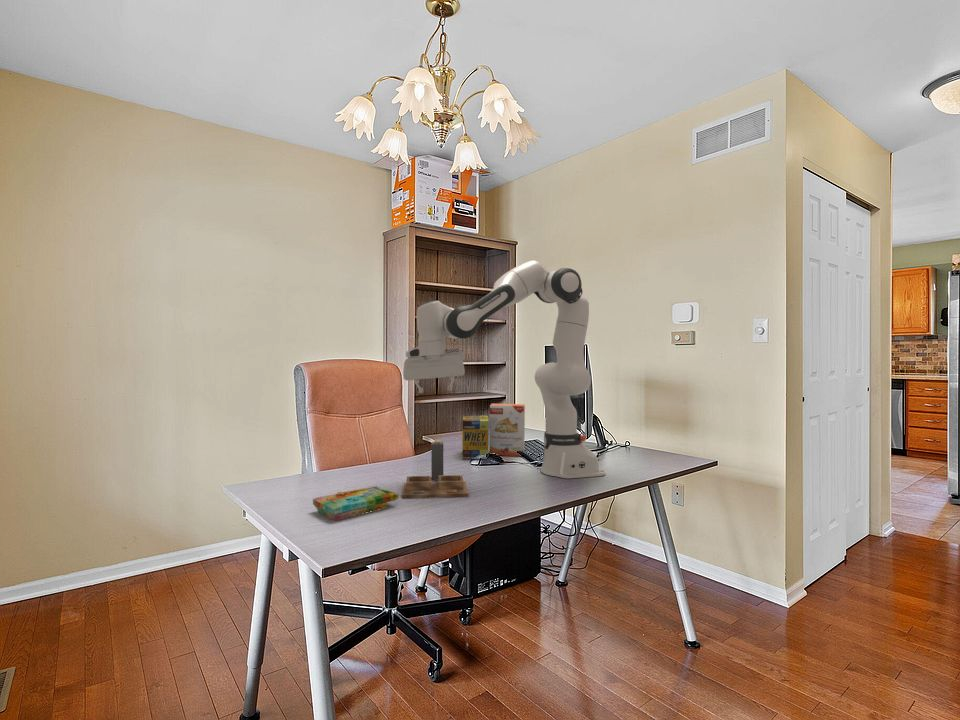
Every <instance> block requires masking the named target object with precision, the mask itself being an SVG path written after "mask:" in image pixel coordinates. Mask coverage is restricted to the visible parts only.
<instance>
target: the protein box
mask: <svg viewBox="0 0 960 720" xmlns="http://www.w3.org/2000/svg"><path fill="white" fill-rule="evenodd" d="M461 432H462V433H461V435H462V439H461V440H462V441H461V442H462V448H461V449H462V454H461V456H462V458H461V459H462V460H465V459H472V458H474V457H476V456H478V455H482V454H488V455H489V440H490V420H489V416H488V415H472V414H471V415H463V416H462V431H461Z"/></svg>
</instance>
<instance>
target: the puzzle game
mask: <svg viewBox="0 0 960 720" xmlns="http://www.w3.org/2000/svg"><path fill="white" fill-rule="evenodd" d="M398 499H399V494H398V493H396V492H393V491H390V490H388V489H385V488H382V487H380V486H377V485H373V486H369V487H364V488H359V489H352V490H348V491H343V492H342V491H337V493H335V494H327V495H324V496H319V497H315V498H313V499H312V505H313V506H314V507H315V508H316V510H317V512H318V513H319V512H320V513H319V514H321V513H322V515H323V514H324V515H323V516H325V515H326V516H325V517H327V516H328V517H327V518H329V517H330V518H329V519H331V518H332V519H331V520H333V519H334V520H333V521H335V520H336V521H339V520H338V519H340V520H343V519H342V518H344V519H347V518H346V517H348V518H351V517H350V516H352V517H354V516H353V515H356V516H359V515H358V514H360V515H363V514H362V513H364V514H367V513H366V512H368V513H371V512H370V511H372V512H376V511H379V510H378V509H380V510H384V509H385V508H386V507H387V506H388V503H390V502H394V501H395V502H396V501H397V500H398ZM383 508H384V509H383ZM375 510H376V511H375Z"/></svg>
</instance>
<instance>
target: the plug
mask: <svg viewBox="0 0 960 720" xmlns="http://www.w3.org/2000/svg"><path fill="white" fill-rule="evenodd" d="M430 446H431V458H430V459H431V475H430V476H432V477H431V480H439V476H442V475H444V441H441V439H440V440H439V439H435V440H434V441H431V445H430Z"/></svg>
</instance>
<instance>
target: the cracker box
mask: <svg viewBox="0 0 960 720" xmlns="http://www.w3.org/2000/svg"><path fill="white" fill-rule="evenodd" d="M525 405H526V404H525V403H524V404H523V403H522V404H520V403H519V404H517V403H491V404H490V405H489V447H488V454H489V453H495V454H498V455H502V456H503V457H519V458H521V457H520V455H519V454H518V453H517V451H523V450H524V451H525V430H526V428H525V425H526V424H525V423H526V421H525V418H526V417H525V414H526V411H525V410H526V407H525ZM498 455H497V456H498ZM502 456H501V457H502Z"/></svg>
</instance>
